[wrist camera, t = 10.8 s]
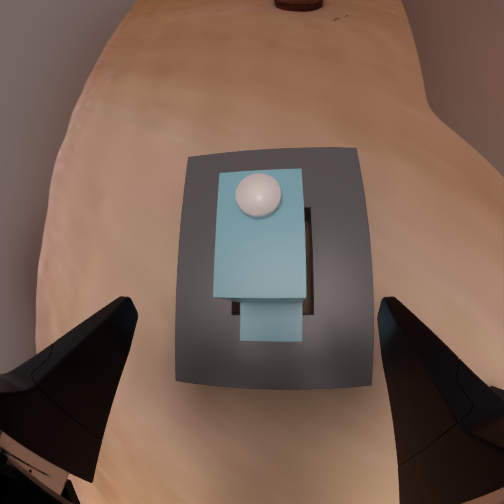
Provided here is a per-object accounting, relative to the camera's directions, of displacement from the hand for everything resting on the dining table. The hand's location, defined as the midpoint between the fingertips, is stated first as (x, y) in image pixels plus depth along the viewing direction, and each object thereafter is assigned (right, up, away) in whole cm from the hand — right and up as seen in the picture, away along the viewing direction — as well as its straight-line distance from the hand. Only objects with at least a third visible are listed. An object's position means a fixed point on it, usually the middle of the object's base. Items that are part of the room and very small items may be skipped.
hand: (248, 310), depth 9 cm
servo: (+2, +1, +13) cm, 13 cm away
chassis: (+2, +1, +13) cm, 13 cm away
